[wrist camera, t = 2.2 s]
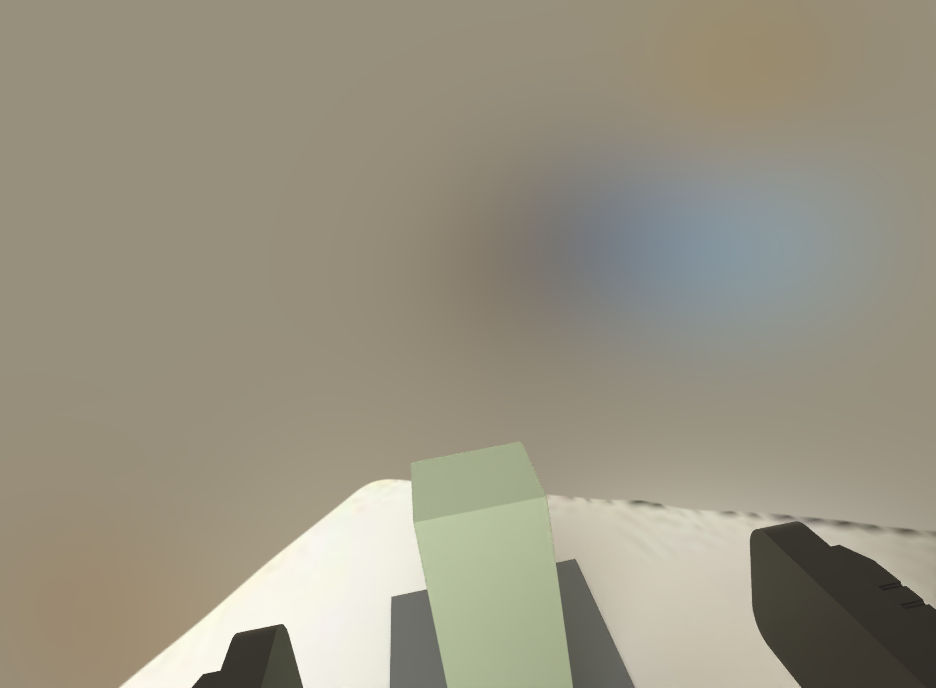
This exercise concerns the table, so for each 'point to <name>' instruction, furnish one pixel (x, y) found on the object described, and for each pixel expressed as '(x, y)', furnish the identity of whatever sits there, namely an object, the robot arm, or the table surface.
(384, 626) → the table surface
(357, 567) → the table surface
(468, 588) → the sage block
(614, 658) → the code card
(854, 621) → the robot arm
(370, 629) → the table surface
